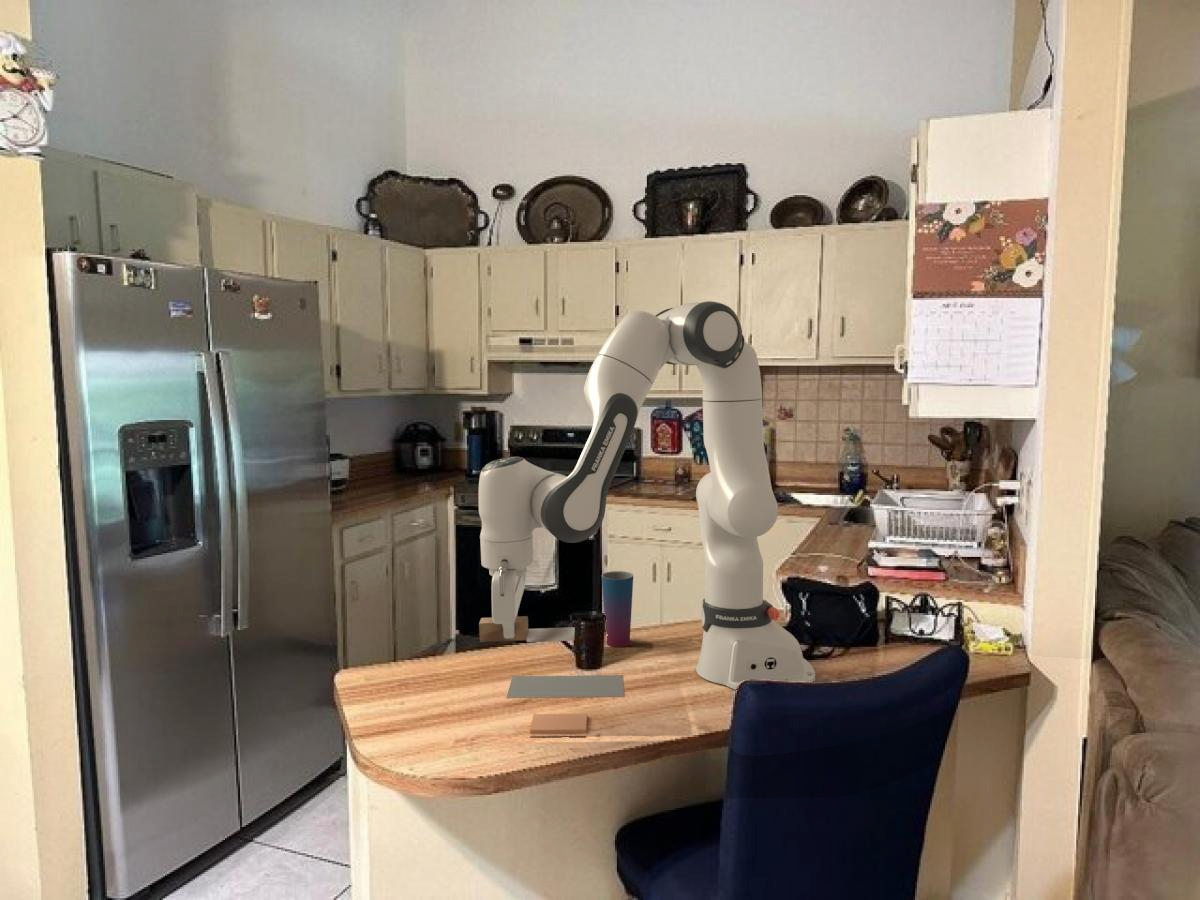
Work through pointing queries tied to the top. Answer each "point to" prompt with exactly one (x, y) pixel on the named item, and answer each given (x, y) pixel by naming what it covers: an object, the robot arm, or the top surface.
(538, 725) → the tile
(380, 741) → the top surface
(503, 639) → the turner
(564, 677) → the rest mat
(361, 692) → the top surface
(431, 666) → the top surface
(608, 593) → the cup
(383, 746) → the top surface
